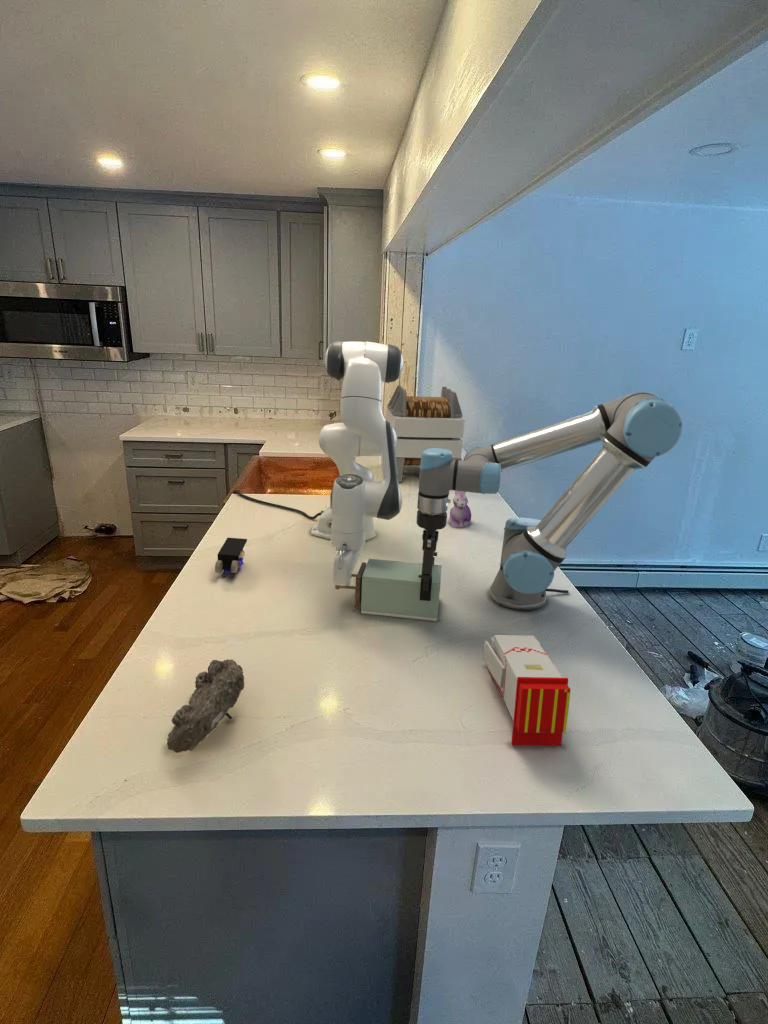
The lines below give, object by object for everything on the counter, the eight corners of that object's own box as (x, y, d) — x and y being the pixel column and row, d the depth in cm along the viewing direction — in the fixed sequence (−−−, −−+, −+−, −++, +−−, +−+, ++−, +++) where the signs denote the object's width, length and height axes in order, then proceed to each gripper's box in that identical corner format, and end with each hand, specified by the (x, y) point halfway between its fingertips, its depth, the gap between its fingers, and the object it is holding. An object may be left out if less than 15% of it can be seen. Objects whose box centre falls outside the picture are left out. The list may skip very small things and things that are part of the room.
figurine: (457, 529, 205) (460, 490, 200) (441, 520, 214) (444, 482, 209) (478, 526, 210) (482, 487, 205) (462, 517, 218) (465, 480, 213)
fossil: (192, 660, 117) (244, 628, 112) (224, 691, 120) (276, 661, 115) (142, 746, 98) (202, 712, 93) (182, 779, 101) (242, 748, 96)
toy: (531, 618, 129) (580, 685, 100) (526, 672, 132) (572, 753, 102) (478, 617, 129) (511, 684, 99) (475, 671, 131) (505, 752, 102)
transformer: (382, 463, 289) (386, 382, 275) (445, 464, 293) (451, 384, 279) (390, 482, 257) (394, 392, 243) (460, 483, 261) (468, 394, 247)
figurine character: (238, 584, 162) (249, 557, 175) (236, 562, 158) (247, 536, 172) (215, 584, 161) (227, 556, 175) (212, 561, 158) (225, 535, 171)
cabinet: (360, 613, 147) (361, 576, 144) (367, 593, 158) (368, 558, 154) (437, 621, 145) (440, 583, 141) (438, 600, 155) (441, 565, 152)
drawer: (333, 605, 148) (334, 576, 145) (341, 588, 158) (342, 560, 155) (425, 615, 146) (427, 585, 143) (427, 596, 155) (429, 568, 152)
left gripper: (352, 554, 137) (351, 605, 141) (366, 525, 156) (364, 570, 160) (327, 552, 137) (326, 603, 142) (343, 523, 156) (342, 568, 161)
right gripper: (445, 529, 130) (438, 613, 137) (448, 497, 152) (442, 571, 159) (413, 526, 131) (408, 609, 138) (420, 495, 153) (415, 568, 160)
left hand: (346, 585), depth 151 cm, fingers closed
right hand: (426, 589), depth 149 cm, fingers closed on cabinet, 11 cm apart
